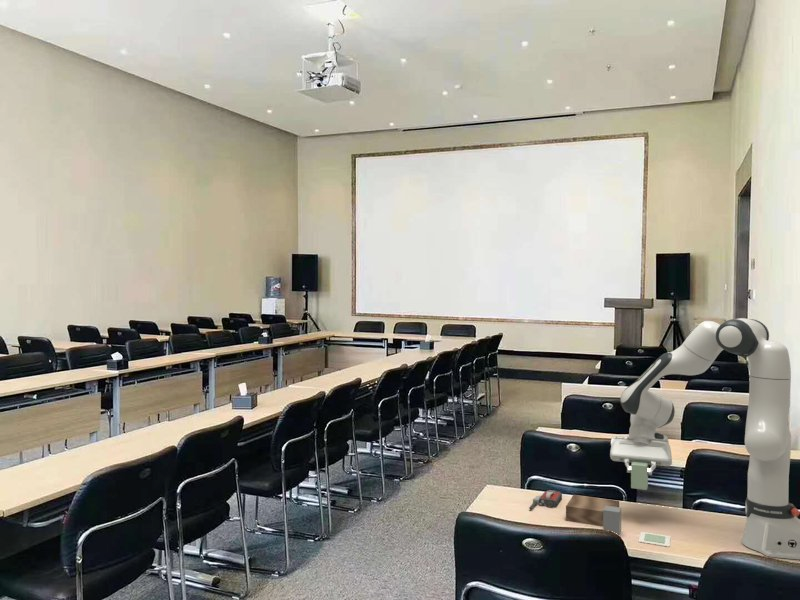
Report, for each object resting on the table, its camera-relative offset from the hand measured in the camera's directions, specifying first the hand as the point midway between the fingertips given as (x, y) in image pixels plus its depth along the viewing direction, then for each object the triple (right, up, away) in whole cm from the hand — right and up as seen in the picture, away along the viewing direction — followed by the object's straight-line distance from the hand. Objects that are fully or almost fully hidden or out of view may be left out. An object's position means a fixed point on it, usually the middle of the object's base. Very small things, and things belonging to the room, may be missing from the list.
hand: (639, 473), depth 216 cm
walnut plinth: (-14, -17, +6) cm, 23 cm away
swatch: (-1, -17, -14) cm, 23 cm away
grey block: (-12, -17, -9) cm, 23 cm away
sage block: (0, -5, +1) cm, 5 cm away
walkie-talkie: (-28, -18, +20) cm, 38 cm away
